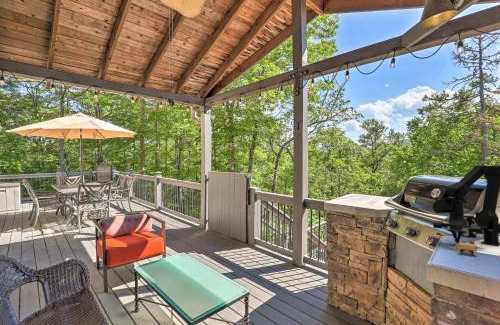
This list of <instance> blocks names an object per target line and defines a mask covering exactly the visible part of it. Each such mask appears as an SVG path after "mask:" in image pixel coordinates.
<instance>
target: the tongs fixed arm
mask: <svg viewBox="0 0 500 325" xmlns="http://www.w3.org/2000/svg"><path fill="white" fill-rule="evenodd" d="M468 244H475V241H472V240H468ZM475 245H476V244H475ZM461 255H463V256H467V257H472V256H474V255H475V251H473V250H465V249H462V252H461Z"/></svg>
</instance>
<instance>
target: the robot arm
mask: <svg viewBox="0 0 500 325" xmlns="http://www.w3.org/2000/svg"><path fill="white" fill-rule="evenodd" d="M483 176H484V178H485V180H486V188H485V193H484V198H483V204H482V208H481V210H480V211H476V212H475V215H474V217H475V219H474V220H475V223H476V224H471V226H468V225H467V220H464V214H465V212H464V210H465V209H464V208H465V207H464V204H467V203H468V201H467V200H466V199H465V197H466V196H467V195H468V193H469V189H470V188H471V187H472V186H474V184H475V183H476V182H478V180H480V179H481V178H482V177H483ZM499 195H500V165H486V164H482V165H481V164H479V165H478V164H477V165H474V166H473V168H472V170H470V171H469V172H468V173H467V174H465V176H463V177H462V178H461V179H460V180H459V181H457V182H455V183H452V184H450V185H448V186H447V187H446V188H445V190H444V193H443V194H442V196H441V198H439V199H438V198H437V199H436V198H435V201H434V202H433V204H432V210H433V212H434V213H436V214H449V216H448V217H449V218H448V223H447V222H446V223H445V221H444V220H434V222H433V223H432V224H433V225H432V226H433V228H434V229H443V228H447V231H448V232H450V234H452V237H453V239H454V240H455V243H456V245H457V244H458V243H459V240H461V237H463V236H462V234H463V233H466V231H467V229H468V230H471V231H472V232H476V234H482V236H483V240H482V241H481V242H480V244H484V245H489V246H495V247H496V246H500V235H499V234H500V222H499V216H498V215H497V212H496V210H497V205H498V199H499Z"/></svg>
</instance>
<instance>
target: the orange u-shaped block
mask: <svg viewBox="0 0 500 325" xmlns="http://www.w3.org/2000/svg"><path fill="white" fill-rule="evenodd" d="M456 245H457V254H458V255H460V254H461V249H465V250H473V251H474V256H475V257H478V250H477V244H469V243H465V242H464V243H458V244H457V243H456Z"/></svg>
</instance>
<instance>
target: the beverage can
mask: <svg viewBox="0 0 500 325" xmlns="http://www.w3.org/2000/svg"><path fill="white" fill-rule="evenodd" d="M474 219H475V214H471V213H464V220H467V225H468V226H471V224H476V223H475V220H474ZM461 237H465V238H473V239H474V238H476V237H477V233H476V232H472V231H471V230H468V229H467V231H466V233H463V234H462V236H461Z"/></svg>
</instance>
